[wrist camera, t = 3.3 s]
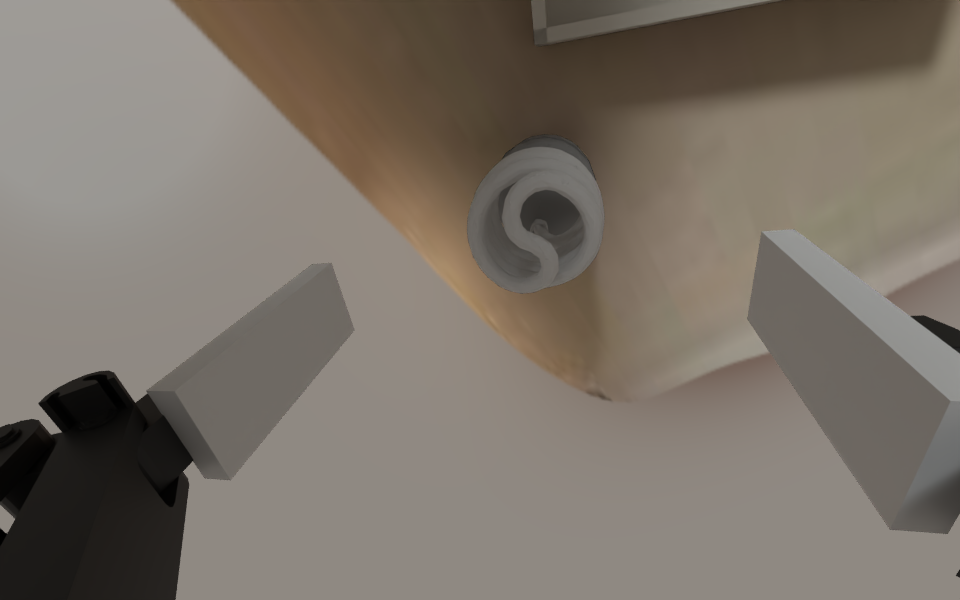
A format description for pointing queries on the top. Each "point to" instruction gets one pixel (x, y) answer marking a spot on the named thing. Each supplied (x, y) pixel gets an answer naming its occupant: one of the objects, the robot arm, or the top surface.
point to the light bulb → (537, 216)
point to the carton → (617, 15)
